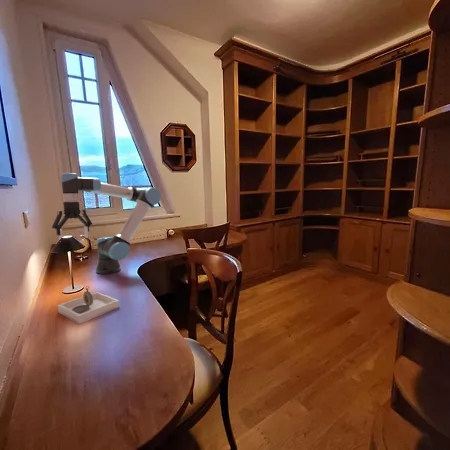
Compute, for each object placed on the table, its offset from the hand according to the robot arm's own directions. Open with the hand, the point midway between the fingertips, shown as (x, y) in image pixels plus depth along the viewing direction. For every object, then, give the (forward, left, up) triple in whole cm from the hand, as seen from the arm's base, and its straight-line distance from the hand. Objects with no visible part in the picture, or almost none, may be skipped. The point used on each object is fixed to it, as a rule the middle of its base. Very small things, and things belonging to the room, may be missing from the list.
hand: (74, 239), depth 141 cm
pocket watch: (+15, +37, -26) cm, 47 cm away
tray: (+13, +37, -27) cm, 47 cm away
